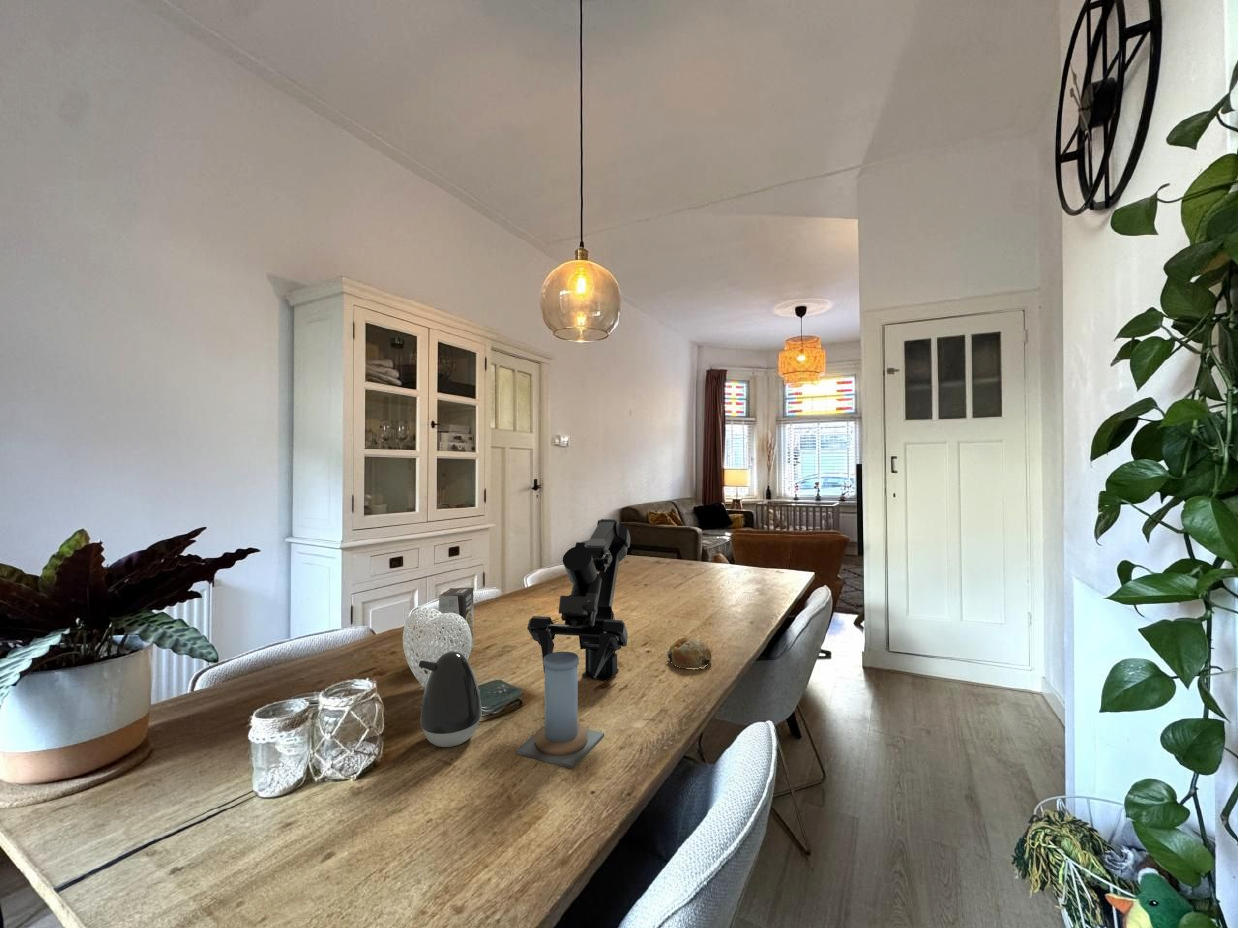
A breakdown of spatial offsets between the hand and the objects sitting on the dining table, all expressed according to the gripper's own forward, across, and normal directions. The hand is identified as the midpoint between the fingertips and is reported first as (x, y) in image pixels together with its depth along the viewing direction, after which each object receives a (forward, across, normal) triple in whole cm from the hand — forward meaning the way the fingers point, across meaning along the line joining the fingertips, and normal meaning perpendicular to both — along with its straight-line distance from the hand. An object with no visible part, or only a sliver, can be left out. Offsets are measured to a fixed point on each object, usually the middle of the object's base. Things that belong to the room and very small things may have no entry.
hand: (569, 675), depth 93 cm
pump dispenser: (+12, -20, +2) cm, 23 cm away
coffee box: (-15, -40, +30) cm, 52 cm away
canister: (+9, 0, +2) cm, 10 cm away
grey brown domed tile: (+11, 0, +3) cm, 11 cm away
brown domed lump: (-17, +19, +33) cm, 42 cm away
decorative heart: (0, -33, +14) cm, 36 cm away
